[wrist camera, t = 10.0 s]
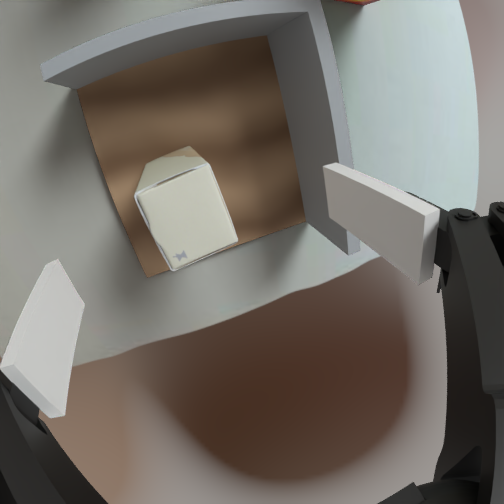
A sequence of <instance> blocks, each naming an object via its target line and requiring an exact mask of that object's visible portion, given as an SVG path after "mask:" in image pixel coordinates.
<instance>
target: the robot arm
mask: <svg viewBox="0 0 504 504" xmlns="http://www.w3.org/2000/svg"><path fill="white" fill-rule="evenodd" d="M323 172H324V179H325V187H326V195H327V203H328V211H329V217H330V218H331V219H332V220H334V221H335V222H336V223H338V224H339V225H341V226H342V227H343V228H345V229H346V230H347V231H349V232H350V233H352V234H353V235H354V236H356V237H357V238H358V239H360V240H361V241H362V242H364V243H365V244H366V245H368V246H369V247H370V248H372V249H373V250H374V251H375V252H377V253H378V254H379V255H381V256H382V257H383V258H385V259H386V260H387V261H388V262H390V263H391V264H392V265H393V266H395V267H396V268H397V269H399V270H400V271H401V272H402V273H403V274H405V275H406V276H407V277H409V278H410V279H411V280H412V281H413V282H415V283H416V284H417V285H420V284H421V283H423V282H425V281H427V280H428V279H430V278H432V275H433V269H434V263H435V264H436V265H438V266H439V267H441V272H440V277H439V283H438V288H437V293H439V292H440V289H441V290H442V298H443V307H444V317H445V329H446V345H447V412H446V427H445V438H444V444H443V448H442V451H441V453H440V456H439V458H438V461H437V465H436V469H435V474H434V479H433V482H430V483H426V484H422V485H419V486H416V485H415V484H414V482H413V483H411V484H410V485H408V486H407V487H405V488H404V489H402V490H400V491H398V492H397V493H395V494H393V495H392V496H390V497H388V498H387V499H385V500H383V501H382V502H380V503H378V504H504V202H494V203H491V204H490V208H489V215H488V216H483V217H480V216H479V215H478V214H477V213H475V212H474V211H471V210H468V209H463V208H455V209H452V210H450V211H449V212H448V211H446V210H444V209H442V208H440V207H438V206H436V205H434V204H432V203H430V202H426V200H424V199H422V198H419V197H418V196H416V195H414V194H412V193H409V192H405V191H402V190H400V189H398V188H395V187H393V186H391V185H389V184H386V183H384V182H382V181H380V180H377V179H375V178H373V177H370V176H368V175H366V174H363V173H361V172H359V171H356V170H354V169H351V168H349V167H346V166H344V165H341V164H339V163H332V164H328V165H325V166H323ZM84 306H85V304H84V302H83V301H82V299H81V298H80V296H79V294H78V293H77V291H76V289H75V288H74V286H73V284H72V283H71V281H70V279H69V277H68V276H67V274H66V272H65V270H64V268H63V267H62V265H61V263H60V261H59V259H57V260H55V261H52V262H50V263H48V264H46V265H45V267H44V269H43V271H42V273H41V275H40V276H39V278H38V280H37V282H36V284H35V286H34V288H33V290H32V292H31V294H30V296H29V298H28V300H27V302H26V304H25V306H24V308H23V311H22V313H21V315H20V317H19V319H18V322H17V324H16V326H15V329H14V331H13V333H12V336H11V337H10V340H9V342H8V345H7V347H6V350H5V352H4V355H3V358H2V361H1V363H0V504H108V503H107V502H106V501H105V500H104V499H103V497H102V496H101V495H100V494H99V493H98V492H97V491H96V490H95V489H94V488H93V486H92V485H91V484H90V483H89V482H88V481H87V479H86V478H85V477H84V476H83V475H82V473H81V472H80V471H79V470H78V469H77V467H76V466H75V465H74V464H73V462H72V461H71V460H70V458H69V457H68V456H67V454H66V453H65V452H64V450H63V449H62V448H61V447H60V445H59V444H58V442H57V441H56V439H55V438H54V436H53V435H52V433H51V432H50V430H49V429H48V427H47V426H46V424H45V423H44V422H43V421H42V420H41V419H40V418H39V417H38V414H39V409H40V410H41V411H42V412H44V413H45V414H46V415H47V416H48V417H49V418H55V417H61V416H65V411H66V403H67V395H68V387H69V381H70V374H71V368H72V362H73V357H74V351H75V346H76V341H77V336H78V332H79V327H80V323H81V318H82V314H83V310H84Z"/></svg>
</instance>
